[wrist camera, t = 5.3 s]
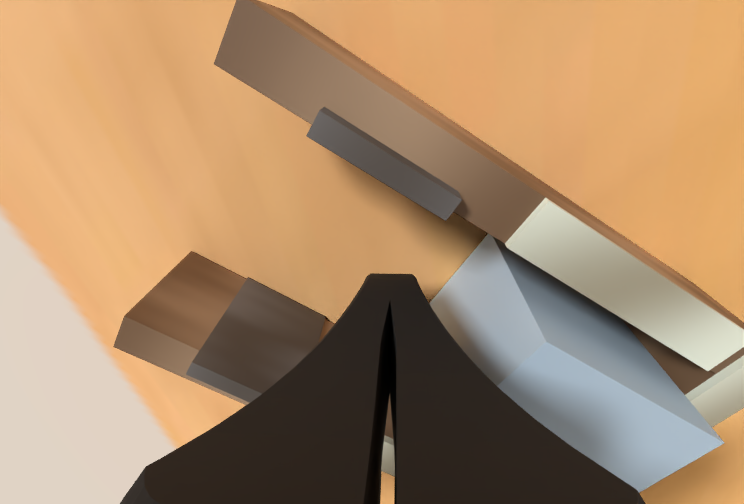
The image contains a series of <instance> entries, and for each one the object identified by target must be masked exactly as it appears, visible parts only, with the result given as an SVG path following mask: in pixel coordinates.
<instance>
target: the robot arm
mask: <svg viewBox="0 0 744 504" xmlns="http://www.w3.org/2000/svg"><path fill="white" fill-rule="evenodd" d="M389 395H390V403H391V416H392V429H393V442H394V460H395V504H645V502H644V500H643V499H642V497H641V496H640V494H639V492H638V491H637V490H636V489H635V488H634V487H632V486H631V485H629V484H627V483H626V482H624V481H623V480H621V479H620V478H618V477H617V476H615V475H614V474H612V473H611V472H609V471H608V470H606V469H605V468H603V467H602V466H600V465H599V464H597V463H596V462H594V461H593V460H591V459H590V458H588V457H587V456H585V455H584V454H582V453H581V452H579V451H578V450H576V449H575V448H573V447H572V446H571V445H569V444H568V443H566V442H565V441H564V440H562V439H561V438H560V437H558V436H557V435H556V434H554V433H553V432H552V431H550V430H549V429H548V428H546V427H545V426H544V425H542V424H541V423H540V422H538V421H537V420H536V419H535V418H533V417H532V416H531V415H530V414H528V413H527V412H526V411H525V410H524V409H523V408H521V407H520V406H519V405H518V404H517V403H516V402H515V401H513V400H512V399H511V398H510V397H509V396H508V395H506V394H505V393H504V392H503V391H502V390H501V389H499V388H498V387H497V386H496V385H495V384H494V383H493V382H492V381H491V380H490V379H489V378H488V377H487V376H486V375H485V374H484V373H483V372H482V371H481V370H480V369H479V368H478V367H477V365H476V364H475V363H474V362H473V361H472V360H471V359H470V358H469V357H468V356H467V354H466V353H465V352H464V351H463V350H462V349H461V347H460V346H459V345H458V344H457V342H456V341H455V340H454V339H453V337H452V336H451V335H450V334H449V332H448V331H447V330H446V328H445V327H444V325H443V324H442V323H441V321H440V320H439V318H438V317H437V315H436V314H435V312H434V311H433V309H432V308H431V306H430V304H429V303H428V301H427V299H426V298H425V296H424V294H423V292H422V290H421V288H420V286H419V284H418V282H417V279H416V277H415V276H414V275H413V274H370V275H368V276H367V277H366V279H365V281H364V283H363V285H362V287H361V288H360V290H359V291H358V293H357V295H356V296H355V298H354V299H353V301H352V302H351V303H350V305H349V306H348V308H347V309H346V310H345V312H344V313H343V314H342V316H341V317H340V318H339V320H338V321H337V322H336V323H335V324H334V326H333V327H332V328H331V329H330V330H329V331H328V333H327V334H326V335H325V336H324V337H323V339H322V340H321V341H320V342H319V343H318V344H317V345H316V346H315V347H314V348H313V349H312V350H311V351H310V352H309V353H308V354H307V355H306V356H305V357H304V358H303V359H302V360H301V361H300V362H299V363H298V364H297V365H296V366H295V367H294V368H292V369H291V370H290V371H289V372H288V373H287V374H285V375H284V376H283V377H282V378H281V379H280V380H278V381H277V382H276V383H275V384H274V385H273V386H271V387H270V388H269V389H268V390H266V391H265V392H264V393H262V394H261V395H260V396H259V397H257V398H256V399H254V400H253V401H252V402H250V403H249V404H247V405H246V406H245V407H243V408H242V409H240V410H239V411H238V412H236V413H235V414H233V415H232V416H230V417H229V418H227V419H226V420H224V421H223V422H221V423H220V424H218V425H216V426H215V427H213V428H212V429H210V430H209V431H207V432H205V433H204V434H202V435H200V436H199V437H197V438H195V439H193V440H192V441H190V442H188V443H187V444H185V445H183V446H181V447H180V448H178V449H176V450H175V451H173V452H171V453H169V454H168V455H166V456H164V457H163V458H161V459H159V460H157V461H155V462H153V463H152V464H150V465H148V466H146V467H145V469H144V470H143V472H142V473H141V474H140V476H139V477H138V479H137V480H136V481H135V483H134V484H133V486H132V487H131V488H130V490H129V491H128V492H127V494H126V495H125V497H124V498H123V500H122V502H121V503H120V504H380V493H381V466H382V454H383V444H384V436H385V427H386V419H387V411H388V403H389Z"/></svg>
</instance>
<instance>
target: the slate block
mask: <svg viewBox="0 0 744 504" xmlns="http://www.w3.org/2000/svg"><path fill="white" fill-rule="evenodd" d="M429 304H430V306H431V308H432V309H433V311H434V312H435V314H436V315H437V317H438V318H439V320H440V321H441V323H442V324H443V325H444V327H445V328H446V330H447V331H448V332H449V334H450V335H451V336H452V337H453V339H454V340H455V341H456V342H457V344H458V345H459V346H460V347H461V349H462V350H463V351H464V352H465V353H466V354H467V356H468V357H469V358H470V359H471V360H472V361H473V362H474V363H475V364H476V365H477V367H478V368H479V369H480V370H481V371H482V372H483V373H484V374H485V375H486V376H487V377H488V378H489V379H490V380H491V381H492V382H493V383H494V384H495V385H496V386H497V387H498V388H499V389H501V390H502V391H503V392H504V393H505V394H506V395H508V396H509V397H510V398H511V399H512V400H513V401H515V402H516V403H517V404H518V405H519V406H520V407H521V408H523V409H524V410H525V411H526V412H527V413H528V414H530V415H531V416H532V417H533V418H535V419H536V420H537V421H538V422H540V423H541V424H542V425H544V426H545V427H546V428H548V429H549V430H550V431H552V432H553V433H554V434H556V435H557V436H558V437H560V438H561V439H562V440H564V441H565V442H566V443H568V444H569V445H571V446H572V447H573V448H575V449H576V450H578V451H579V452H581V453H582V454H584V455H585V456H587V457H588V458H590V459H591V460H593V461H594V462H596V463H597V464H599V465H600V466H602V467H603V468H605V469H606V470H608V471H609V472H611V473H612V474H614V475H615V476H617V477H618V478H620V479H621V480H623V481H624V482H626V483H627V484H629V485H631V486H632V487H634V488H635V489H636V490H637V491H638V492H641V491H643V490H645V489H646V488H648V487H650V486H651V485H653V484H655V483H657V482H658V481H660V480H662V479H663V478H665V477H667V476H669V475H670V474H672V473H674V472H675V471H677V470H679V469H681V468H682V467H684V466H686V465H687V464H689V463H691V462H693V461H694V460H696V459H698V458H700V457H701V456H703V455H705V454H706V453H708V452H710V451H712V450H713V449H715V448H717V447H718V446H720V445H722V444H724V442H723V441H722V439H721V438H720V437H719V436H718V435H717V433H716V432H715V431H714V430H713V429H712V427H711V426H710V425H709V424H708V423H707V421H706V420H705V419H704V418H703V417H702V415H701V414H700V413H699V412H698V411H697V409H696V408H695V407H694V406H693V405H692V403H691V402H690V401H689V400H688V399H687V397H686V396H685V395H684V394H683V393H682V391H681V390H680V389H679V388H678V387H677V385H676V384H675V383H674V382H673V381H672V379H671V378H670V377H669V376H668V375H667V373H666V372H665V371H664V370H663V369H662V367H661V366H660V365H659V364H658V362H657V361H656V360H655V359H654V358H653V356H652V355H651V354H650V353H649V352H648V350H647V349H646V348H645V347H644V346H643V344H642V343H641V342H640V341H639V340H638V338H637V337H636V336H635V335H634V334H633V332H632V331H631V330H630V329H629V328H628V326H627V325H626V324H625V323H624V322H623V320H622V319H621V318H620V317H619V316H617V315H615V314H614V313H612V312H610V311H609V310H607V309H606V308H604V307H602V306H601V305H599V304H597V303H596V302H594V301H593V300H591V299H589V298H588V297H586V296H584V295H583V294H581V293H580V292H578V291H576V290H575V289H573V288H571V287H570V286H568V285H567V284H565V283H563V282H562V281H560V280H558V279H557V278H555V277H554V276H552V275H550V274H549V273H547V272H545V271H544V270H542V269H541V268H539V267H537V266H536V265H534V264H532V263H531V262H529V261H528V260H526V259H524V258H523V257H521V256H519V255H518V254H516V253H515V252H513V251H511V250H510V249H508V248H507V247H506V245H505V243H503V242H501V241H500V240H498V239H497V238H495V237H493V236H492V235H490V234H487V236H486V237H485V238H484V239H483V240H482V242H481V243H480V244H479V245H478V246H477V247H476V249H475V250H474V251H473V252H472V253H471V255H470V256H469V257H468V258H467V259H466V260H465V262H464V263H463V264H462V265H461V266H460V268H459V269H458V270H457V271H456V272H455V273H454V275H453V276H452V277H451V278H450V279H449V281H448V282H447V283H446V284H445V285H444V286H443V288H442V289H441V290H440V291H439V292H438V294H437V295H436V296H435V297H434V298H433V299H432V301H431V302H430V303H429Z"/></svg>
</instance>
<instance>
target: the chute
mask: <svg viewBox="0 0 744 504" xmlns="http://www.w3.org/2000/svg"><path fill="white" fill-rule="evenodd" d="M214 64H215V65H216V66H218V67H219V68H221V69H223V70H224V71H226V72H228V73H229V74H231V75H232V76H234V77H236V78H237V79H239V80H241V81H242V82H244V83H245V84H247V85H249V86H250V87H252V88H253V89H255V90H257V91H258V92H260V93H262V94H263V95H265V96H266V97H268V98H270V99H271V100H273V101H275V102H276V103H278V104H279V105H281V106H283V107H284V108H286V109H287V110H289V111H291V112H292V113H294V114H296V115H297V116H299V117H300V118H302V119H304V120H305V121H307V122H309V123H310V124H312V126H311V128H310V130H309V132H308V134H307V137H309V138H310V139H312V140H314V141H315V142H317V143H319V144H320V145H322V146H323V147H325V148H327V149H328V150H330V151H332V152H333V153H335V154H337V155H338V156H340V157H342V158H343V159H345V160H346V161H348V162H350V163H351V164H353V165H355V166H356V167H358V168H360V169H361V170H363V171H365V172H366V173H368V174H369V175H371V176H373V177H374V178H376V179H378V180H379V181H381V182H383V183H384V184H386V185H388V186H389V187H391V188H392V189H394V190H396V191H397V192H399V193H401V194H402V195H404V196H406V197H407V198H409V199H411V200H412V201H414V202H415V203H417V204H419V205H420V206H422V207H424V208H425V209H427V210H429V211H430V212H432V213H434V214H435V215H437V216H438V217H440V218H442V219H443V220H445V221H446V220H447V219H448V218H449V216H450V215H451V214H452V213H453V212H454V213H456V214H458V215H459V216H461V217H463V218H464V219H466V220H467V221H469V222H471V223H472V224H474V225H475V226H477V227H479V228H480V229H482V230H484V231H485V232H487V233H488V234H490V235H492V236H493V237H495V238H497V239H498V240H500V241H501V242H503V243H505V245H506V247H507V248H508V249H510V250H511V251H513V252H515V253H516V254H518V255H519V256H521V257H523V258H524V259H526V260H528V261H529V262H531V263H532V264H534V265H536V266H537V267H539V268H541V269H542V270H544V271H545V272H547V273H549V274H550V275H552V276H554V277H555V278H557V279H558V280H560V281H562V282H563V283H565V284H567V285H568V286H570V287H571V288H573V289H575V290H576V291H578V292H580V293H581V294H583V295H584V296H586V297H588V298H589V299H591V300H593V301H594V302H596V303H597V304H599V305H601V306H602V307H604V308H606V309H607V310H609V311H610V312H612V313H614V314H615V315H617V316H619V317H620V318H621V319H622V320H623V322H624V323H625V324H626V325H627V326H628V328H629V329H630V330H631V331H632V332H633V334H634V335H635V336H636V337H637V338H638V340H639V341H640V342H641V343H642V344H643V346H644V347H645V348H646V349H647V350H648V352H649V353H650V354H651V355H652V356H653V358H654V359H655V360H656V361H657V362H658V364H659V365H660V366H661V367H662V369H663V370H664V371H665V372H666V373H667V375H668V376H669V377H670V378H671V379H672V381H673V382H674V383H675V384H676V385H677V387H678V388H679V389H680V390H681V391H682V393H683V394H684V395H685V396H686V397H687V399H688V400H689V401H690V402H691V403H692V405H693V406H694V407H695V408H696V409H697V411H698V412H699V413H700V414H701V415H702V417H703V418H704V419H705V420H706V421H707V423H708V424H709V425H710V426H711V427H713V426H715V425H717V424H718V423H720V422H722V421H723V420H725V419H726V418H728V417H730V416H731V415H733V414H735V413H736V412H738V411H740V410H741V409H743V408H744V323H743V322H742V321H741V320H740V319H738V318H737V317H736V316H735V315H733V314H732V313H731V312H729V311H728V310H727V309H726V308H724V307H723V306H722V305H721V304H719V303H718V302H717V301H715V300H714V299H713V298H712V297H710V296H709V295H708V294H707V293H705V292H704V291H703V290H701V289H700V288H699V287H698V286H696V285H695V284H694V283H692V282H691V281H689V280H688V279H686V278H685V277H683V276H682V275H680V274H679V273H677V272H676V271H674V270H673V269H671V268H670V267H668V266H667V265H666V264H664V263H663V262H661V261H660V260H658V259H657V258H655V257H654V256H652V255H651V254H649V253H648V252H646V251H645V250H643V249H642V248H640V247H639V246H637V245H636V244H634V243H633V242H631V241H630V240H628V239H627V238H625V237H624V236H622V235H621V234H620V233H618V232H617V231H615V230H614V229H612V228H611V227H609V226H608V225H606V224H605V223H603V222H602V221H600V220H599V219H597V218H596V217H594V216H593V215H591V214H590V213H588V212H587V211H585V210H584V209H582V208H581V207H579V206H578V205H576V204H575V203H573V202H572V201H571V200H569V199H568V198H566V197H565V196H563V195H562V194H560V193H559V192H557V191H556V190H554V189H553V188H551V187H550V186H548V185H547V184H545V183H544V182H542V181H541V180H539V179H538V178H536V177H535V176H533V175H532V174H530V173H529V172H527V171H526V170H525V169H523V168H522V167H520V166H519V165H517V164H516V163H514V162H513V161H511V160H510V159H508V158H507V157H505V156H504V155H502V154H501V153H499V152H498V151H496V150H495V149H493V148H492V147H490V146H489V145H487V144H486V143H484V142H483V141H481V140H480V139H479V138H477V137H476V136H474V135H473V134H471V133H470V132H468V131H467V130H465V129H464V128H462V127H461V126H459V125H458V124H456V123H455V122H453V121H452V120H450V119H449V118H447V117H446V116H444V115H443V114H441V113H440V112H438V111H437V110H435V109H434V108H433V107H431V106H430V105H428V104H427V103H425V102H424V101H422V100H421V99H419V98H418V97H416V96H415V95H413V94H412V93H410V92H409V91H407V90H406V89H404V88H403V87H401V86H400V85H398V84H397V83H395V82H394V81H392V80H391V79H389V78H388V77H386V76H385V75H384V74H382V73H381V72H379V71H378V70H376V69H375V68H373V67H372V66H370V65H369V64H367V63H366V62H364V61H363V60H361V59H360V58H358V57H357V56H355V55H354V54H352V53H351V52H349V51H348V50H346V49H345V48H343V47H342V46H340V45H339V44H338V43H336V42H335V41H333V40H332V39H330V38H329V37H327V36H326V35H324V34H323V33H321V32H320V31H318V30H317V29H315V28H314V27H312V26H311V25H309V24H308V23H306V22H305V21H303V20H302V19H300V18H299V17H297V16H296V15H294V14H293V13H291V12H288V11H286V10H283V9H280V8H277V7H275V6H272V5H269V4H266V3H264V2H261V1H258V0H236V3H235V6H234V9H233V11H232V14H231V17H230V20H229V23H228V26H227V28H226V31H225V34H224V37H223V40H222V42H221V45H220V48H219V51H218V54H217V57H216V59H215V62H214ZM333 326H334V323H332V322H330V321H328V320H326V319H325V316H323V315H321V314H319V313H317V312H315V311H313V310H311V309H309V308H307V307H305V306H303V305H301V304H299V303H297V302H295V301H293V300H291V299H290V298H288V297H286V296H284V295H282V294H280V293H278V292H276V291H274V290H272V289H270V288H268V287H266V286H264V285H262V284H260V283H258V282H256V281H254V280H252V279H250V278H247V279H245V278H243V277H241V276H239V275H237V274H235V273H233V272H231V271H229V270H227V269H225V268H223V267H221V266H220V265H218V264H216V263H214V262H212V261H210V260H208V259H206V258H204V257H202V256H200V255H198V254H196V253H194V252H192V251H191V252H190V253H189V254H188V255H187V256H186V257H185V258H184V259H183V260H182V261H181V262H180V263H179V264H178V265H177V266H176V267H175V268H174V269H172V270H171V271H170V272H169V273H168V274H167V275H166V276H165V277H164V278H163V279H162V280H161V281H160V282H159V283H158V284H157V285H156V286H155V287H154V288H153V289H152V290H151V291H150V292H149V293H148V294H147V295H146V296H145V297H144V298H143V299H141V300H140V301H139V302H138V303H137V304H136V305H135V306H134V307H133V308H132V309H131V310H130V311H129V312H128V313H127V314H126V315H125V316H124V318H123V321H122V324H121V327H120V330H119V332H118V335H117V338H116V341H115V344H114V346H113V347H115V348H117V349H120V350H122V351H124V352H126V353H129V354H131V355H133V356H136V357H138V358H140V359H142V360H145V361H147V362H149V363H151V364H154V365H156V366H158V367H161V368H163V369H165V370H167V371H170V372H172V373H174V374H177V375H179V376H181V377H183V378H186V379H188V380H190V381H193V382H195V383H197V384H199V385H202V386H204V387H206V388H208V389H211V390H213V391H215V392H218V393H220V394H222V395H224V396H227V397H229V398H231V399H234V400H236V401H238V402H240V403H243V404H245V405H247V404H249V403H250V402H252V401H253V400H254V399H256V398H257V397H259V396H260V395H261V394H262V393H264V392H265V391H266V390H268V389H269V388H270V387H271V386H273V385H274V384H275V383H276V382H277V381H278V380H280V379H281V378H282V377H283V376H284V375H285V374H287V373H288V372H289V371H290V370H291V369H292V368H294V367H295V366H296V365H297V364H298V363H299V362H300V361H301V360H302V359H303V358H304V357H305V356H306V355H307V354H308V353H309V352H310V351H311V350H312V349H313V348H314V347H315V346H316V345H317V344H318V343H319V342H320V341H321V340H322V339H323V337H324V336H325V335H326V334H327V333H328V331H329V330H330V329H331V328H332V327H333ZM381 471H383V472H385V473H388V474H390V475H392V476H394V477H395V460H394V442H393V429H392V416H391V403H390V395H389V403H388V411H387V419H386V427H385V436H384V444H383V454H382V466H381Z"/></svg>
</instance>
